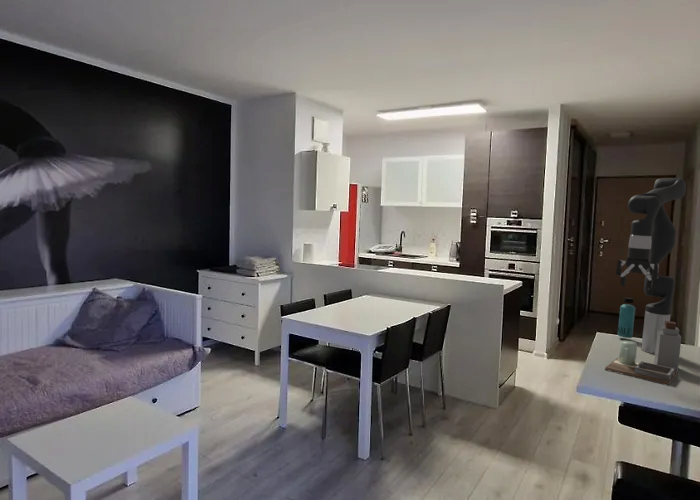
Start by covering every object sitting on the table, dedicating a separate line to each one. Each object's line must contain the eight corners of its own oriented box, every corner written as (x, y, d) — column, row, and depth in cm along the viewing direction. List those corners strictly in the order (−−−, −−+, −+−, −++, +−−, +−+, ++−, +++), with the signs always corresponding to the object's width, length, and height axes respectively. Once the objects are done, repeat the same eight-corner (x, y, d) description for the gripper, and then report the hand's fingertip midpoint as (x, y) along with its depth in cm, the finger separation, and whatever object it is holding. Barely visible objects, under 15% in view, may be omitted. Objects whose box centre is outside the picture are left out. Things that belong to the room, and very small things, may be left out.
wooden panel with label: (617, 360, 191) (618, 352, 191) (676, 373, 177) (677, 366, 177) (605, 369, 178) (606, 361, 178) (668, 385, 165) (669, 376, 165)
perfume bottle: (674, 366, 186) (679, 321, 185) (677, 371, 180) (682, 325, 178) (654, 363, 189) (658, 319, 187) (656, 368, 183) (661, 322, 181)
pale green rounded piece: (636, 362, 184) (638, 342, 184) (632, 367, 178) (634, 347, 178) (620, 359, 188) (622, 339, 187) (616, 364, 182) (617, 344, 181)
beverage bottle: (628, 337, 227) (632, 296, 225) (635, 341, 220) (639, 299, 219) (614, 336, 228) (618, 296, 226) (620, 340, 221) (624, 298, 219)
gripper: (663, 248, 182) (658, 289, 184) (621, 245, 192) (617, 284, 194) (659, 249, 177) (654, 291, 178) (616, 245, 186) (612, 286, 188)
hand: (635, 287), depth 186 cm, fingers open, 8 cm apart
